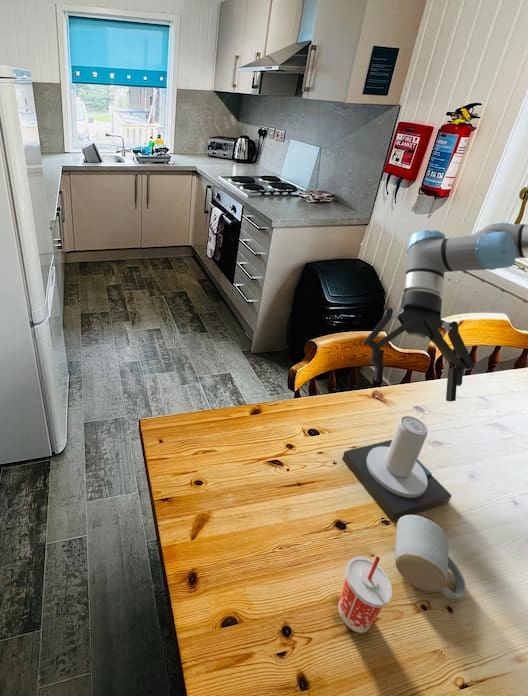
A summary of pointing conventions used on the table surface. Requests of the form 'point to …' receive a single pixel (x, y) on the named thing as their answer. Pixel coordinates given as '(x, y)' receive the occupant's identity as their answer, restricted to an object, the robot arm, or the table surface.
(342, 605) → the beverage cup
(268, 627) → the table surface
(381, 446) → the kitchen scale
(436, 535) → the ceramic mug
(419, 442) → the beverage can
